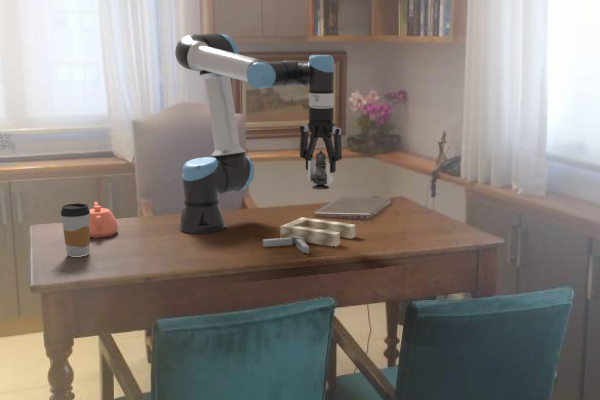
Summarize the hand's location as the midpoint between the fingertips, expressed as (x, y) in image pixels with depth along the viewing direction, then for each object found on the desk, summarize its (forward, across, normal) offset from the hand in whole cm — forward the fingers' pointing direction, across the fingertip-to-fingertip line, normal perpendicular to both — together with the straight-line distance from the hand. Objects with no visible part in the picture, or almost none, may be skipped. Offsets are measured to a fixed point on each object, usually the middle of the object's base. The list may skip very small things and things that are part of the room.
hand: (320, 181), depth 230 cm
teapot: (+21, -70, -25) cm, 77 cm away
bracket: (+19, -3, +4) cm, 20 cm away
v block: (+19, -5, -9) cm, 22 cm away
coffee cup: (+20, -58, -46) cm, 76 cm away
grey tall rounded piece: (+2, 0, 0) cm, 2 cm away
